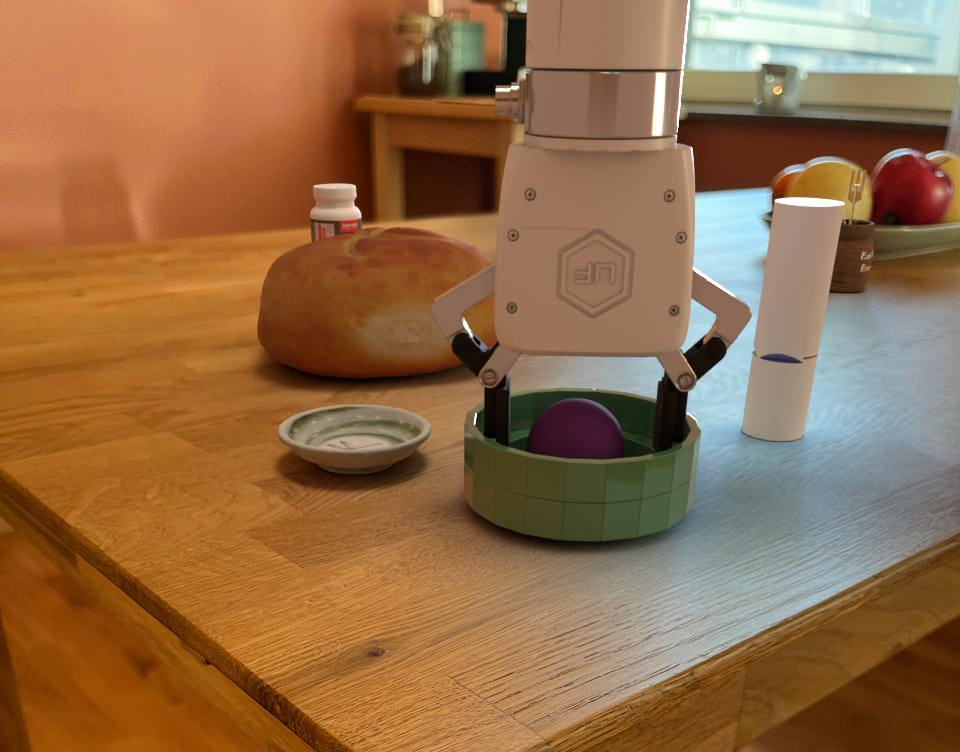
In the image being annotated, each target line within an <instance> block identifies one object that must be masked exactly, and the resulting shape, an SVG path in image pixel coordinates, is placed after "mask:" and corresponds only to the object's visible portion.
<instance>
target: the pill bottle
mask: <svg viewBox="0 0 960 752" xmlns="http://www.w3.org/2000/svg"><path fill="white" fill-rule="evenodd" d="M312 193H313V195H312V196H313V198H314V200H315V206H314V207H312V208H311V210H310V213H309V225H310V238H311V242H315V241H318V240H321V239H325V238H328V237H331V236H336V235H341V234H349V233H352V234H353V233H355V232H357V231H359V230H362V229H363V218H362V212H361V211H360V209H359V207H358V206H356V205H355V200H356V198H357V196H358V195H357V186H356V185H355V184H351V183H322V184H315V185H313V186H312Z"/></svg>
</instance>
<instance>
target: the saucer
mask: <svg viewBox="0 0 960 752" xmlns="http://www.w3.org/2000/svg"><path fill="white" fill-rule="evenodd" d="M431 431H432V427H431V424H430V422H429V421H428V420H427V419H426V418H425V417H423V416H422V415H420V414H417V413H415V412H412V411H409V410H407V409H403V408H399V407H394V406H388V405H379V404H365V403H363V404H361V403H360V404H352V403H351V404H349V403H348V404H337V405H330V406H322V407H317V408H313V409H309V410H305V411H302V412H298V413H296V414H294V415H292V416H290V417H288V418H286V419H285V420H283V421H282V423H280V424H279V425H278V427H277V437H278V440H279V441H280V443H282V444H283V445H284V446H286V447H287V448H289V449H290V450H291V451H292V452H293V453H295V455H297V456H298V457H300V458H302V459H304V460H306V461H307V462H310V463H313V464H316V465H318V466H319V467H320V468H321V469H323V470H325V471H327V472H331V473H333V474H340V475H341V474H343V475H366V474H372V473H373V474H374V473H377V472H378V473H379V472H381V471H384V470H387V469H388V468H390V467H392V466H393V465H395V463H396V462H399V461H401V460H403V459H406V458H407V457H409V456H410V455H412V454H413V453H415V451H416V450H417V449H418V448H420V447H421V445H422V444H424V443H425V442H426V441H428V439H429V438H430V436H431Z"/></svg>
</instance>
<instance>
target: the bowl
mask: <svg viewBox="0 0 960 752" xmlns="http://www.w3.org/2000/svg"><path fill="white" fill-rule="evenodd" d="M572 398H579V399H587V400H590V401H594V402H596V403H598V404H600V405H602V406H603V407H604V408H606V409H607V410H608V411H609V412H610V413H611V414H612V415H613V416H614V417H615V419H616V420H617V422H618V423H619V425H620V428H621V430H622V433H623V437H624V457H623V458H618V459H606V460H598V459H566V458H559V457H552V456H545V455H538V454H532V453H528V452H527V439H528V435H529V432H530V429H531V427H532V425H533V424H534V422H535V420H536V419H537V418H538V416H539V415H540V414H541V413H542V412H543V411H544V410H545V409H547V408H548V407H549V406H551V405H553V404H555V403H557V402H559V401H562V400H566V399H572ZM656 399H657V398H654V397H649V396H644V395H640V394H635V393H632V392H626V391H620V390H619V391H618V390H610V389H602V388H583V387H582V388H581V387H580V388H579V387H553V388H537V389H527V390H522V391H516V392H510V432H509V447H507V446H503V445H501V444H499V443H497V442H496V439H493V438H487V437H486V436H484V401H482V402H479V403H478V404H476V405H475V406H474V407H473V408H471V409H470V410H468V412H467V413H466V414H465V419H464V425H463V497H464V499H465V501H466V503H468V505H469V507H470V509H472V511H473V512H474V513H476V514H478V516H480V517H482V518H484V519H485V520H487V521H489V522H491V523H492V524H494V525H495V526H499V527H501V528H505V529H507V530H510V531H513V532H517V533H519V534H522V535H527V536H533V537H539V538H542V539H549V540H554V541H555V540H556V541H563V542H564V541H565V542H574V543H575V542H577V543H578V542H580V543H596V542H597V543H598V542H611V541H618V540H627V539H635V538H641V537H644V536H645V537H646V536H648V535H652V534H656V533H659V532H662V531H665V530H668V529H670V528H671V527H673V526H674V525H676V524H678V523H679V522H681V521H682V520H684V519H685V518H686V517H687V515H688V513H689V512H690V509H691V508H692V505H693V501H694V494H695V493H694V492H695V486H696V478H697V470H698V469H697V468H698V462H699V454H700V447H701V438H702V429H701V427H700V425H699V423H698V420H697V419H696V418H695V417H694V416H692V415H691V414H690V413H688V412H687V411H686V417H685V426H684V435H683V441H682V442H681V443H678V442H672V448H670V449H668V450H665V451H661V452H657V453H655V450H654V447H653V431H654V420H655V409H656Z"/></svg>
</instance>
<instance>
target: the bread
mask: <svg viewBox="0 0 960 752" xmlns="http://www.w3.org/2000/svg"><path fill="white" fill-rule="evenodd" d="M492 263H493V262H491V260H490V259H489V257H488V256H487V255H486V254H485V253H484V252H483V251H482V250H481V249H480V248H478V246H475V244H474V245H473V244H470V243H468V242H465V241H463V240H460V239H456V238H454V237H451V236H447V235H444V234H441V233H438V232H436V231H434V230H430V229H424V228H419V227H417V228H416V227H410V226H406V227H405V226H404V227H403V226H396V227H395V226H394V227H389V228H385V227H378V226H373V227H366V228H365V227H364V228H362V230H359V231H357V232H355V233H353V234H352V233H349V234H341V235H336V236H331V237H328V238H325V239H321V240H318V241H315V242H312V241H311V242H308V243H305V244H302V245H298V246H295V247H293V248H291V249H290V250H287V251H285V252H284V253H283V254H281V255H279V256H278V257H277V258H275V260H274V261H273V262H272V263H271V264H270V267H269V269H268V270H267V273H266V275H265V278H264V280H263V283H262V289H261V294H260V302H259V313H258V316H257V323H256V326H257V327H256V331H257V339H258V341H259V343H260V345H261V346H262V348H263V349H264V351H266V352H267V353H268V354H269V355H270V356H271V357H272V358H273V359H274V360H276V362H279V363H281V364H284V365H286V366H288V367H290V368H293V369H297V370H299V371H302V372H304V373H308V374H311V375H315V376H323V377H331V378H346V379H370V378H394V377H395V378H397V377H408V376H420V375H426V374H431V373H436V372H441V371H445V370H448V369H451V368H454V367H458V366H461V365H465V364H464V363H463V362H462V361H461V360H460V359H459V358H458V357H457V356H456V355H455V354H454V353H453V351H452V348H451V345H450V344H449V342H448V340H447V339H446V338H445V336H444V335H443V333H442V331H441V330H440V328H439V326H438V325H437V323H436V321H435V319H434V318H433V316H432V314H431V306H432V303H433V301H434V299H435V298H436V297H438V296H440V295H441V294H443V293H444V292H446V291H448V290H449V289H451V288H453V287H454V286H456V285H458V284H459V283H461V282H463V281H464V280H466V279H468V278H469V277H471V276H472V275H474V274H476V273H477V272H479V271H481V270H482V269H484V268H486V267H487V266H489V265H491V264H492ZM463 317H464V319H465V321H466V324H467V325H468V327H469V329H470V330H471V331H472V332H473V333H474V334H475V335H476V336H477V337H478V338H479V339H480V340H481V341H482V342H483V343H484V345H485V346H486V347H487V348H488V349H490V348H491V346H492V345H493V344H494V342H495V341H496V340H497V337H496V333H495V325H494V294H493V295H491V296H489V297H487V298H486V299H484V300H482V301H481V302H479V303H477V304H476V305H474V306H472V307H471V308H469V309H467V310H466V311H465V312H464V313H463Z"/></svg>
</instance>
